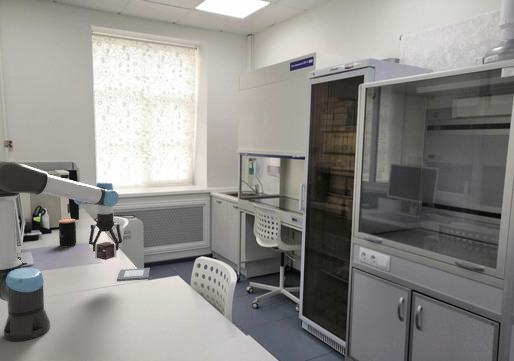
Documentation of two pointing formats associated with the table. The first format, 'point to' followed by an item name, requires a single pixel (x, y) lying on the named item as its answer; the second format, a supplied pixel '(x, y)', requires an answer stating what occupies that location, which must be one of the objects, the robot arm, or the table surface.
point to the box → (105, 250)
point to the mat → (133, 274)
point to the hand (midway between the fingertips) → (106, 257)
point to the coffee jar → (67, 232)
